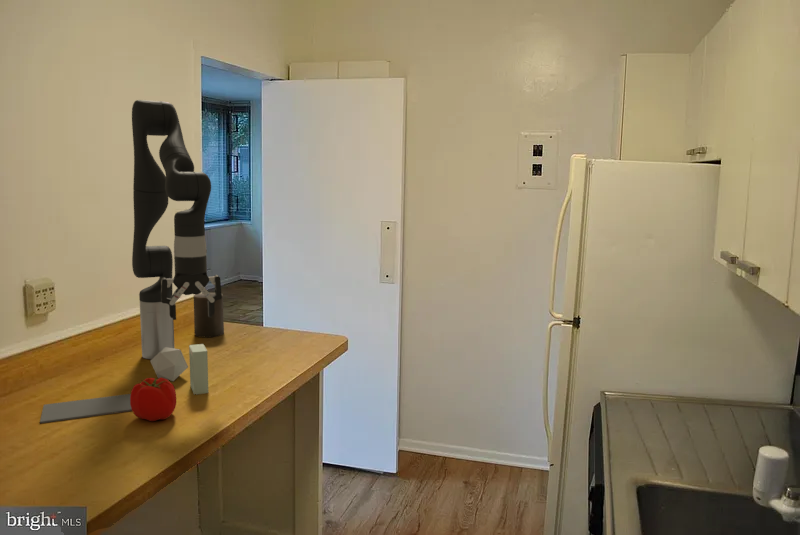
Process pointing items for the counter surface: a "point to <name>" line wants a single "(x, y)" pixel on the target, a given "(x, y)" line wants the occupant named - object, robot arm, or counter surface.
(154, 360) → the die
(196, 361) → the slab
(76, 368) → the counter surface
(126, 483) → the counter surface
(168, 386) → the tomato
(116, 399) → the mat
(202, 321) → the pillar candle
